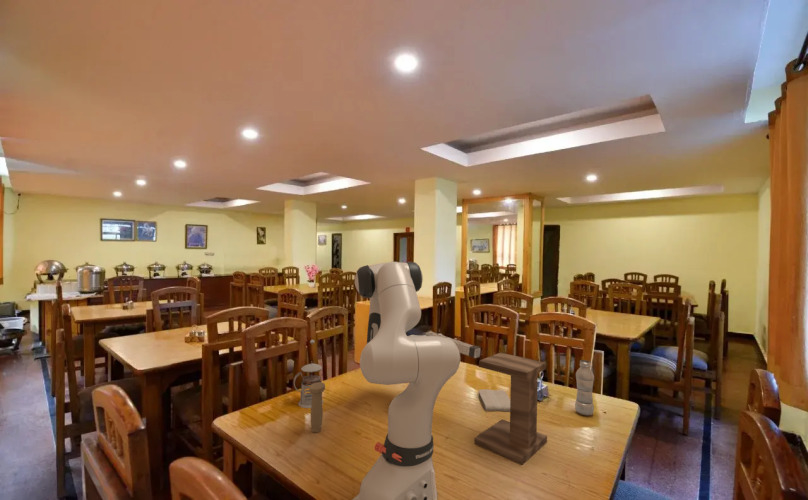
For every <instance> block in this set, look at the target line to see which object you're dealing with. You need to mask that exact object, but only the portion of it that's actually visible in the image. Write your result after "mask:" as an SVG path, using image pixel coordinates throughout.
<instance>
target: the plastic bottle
mask: <svg viewBox="0 0 808 500" xmlns="http://www.w3.org/2000/svg"><path fill="white" fill-rule="evenodd" d="M575 379H576V400H575V403H574V406H575V408H574V409H575V411H576V412H577V413H578V414H580V415H582V416H592V415H593V414H594V410H595V408H594V407H595V406H594V401H593V386H594V381H595V375H594V372H593V371H592V370H591V361H589V360H586V359H581V360H579V368H578V369H577V370H576V372H575Z"/></svg>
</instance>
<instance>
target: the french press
mask: <svg viewBox="0 0 808 500" xmlns="http://www.w3.org/2000/svg"><path fill="white" fill-rule="evenodd" d="M309 343H310V344H315V343H316V342H315V340H314V339H311V340H310V341H309ZM300 369H301V371H300V372H298V373H296V374H295V376H294V378H293V386H294V389H295V391H297V392H299V393H300V401H298V403H297V405H298V406H299V407H301V408H304V409H311V404H312V393H310V391H309V387H310V385H311V384H314V383H318V382H320V383H322V380H321V376H319V375H316V374H315V375H314V374H313V373H315V372H316V373H317V372H321V370H322V369H323V367H322V366H321V365H320V364H318V363H313V362H311V363H308V364H305V365H303V366H302V367H301V368H300ZM302 372H304V373H310V375H305V376H303V373H302ZM299 376H301V379H302V381H301V386H300V389H299V388H297V387H296V384H295V383H296V380H297V378H298V377H299ZM323 404H324V400H323V399H322V405H323Z"/></svg>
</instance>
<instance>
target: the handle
mask: <svg viewBox="0 0 808 500" xmlns="http://www.w3.org/2000/svg"><path fill="white" fill-rule="evenodd" d="M309 386H310V387H309V389H308V390H309V391H310V392H309V393H312V404H311V408H310V429H311V432H312V433H317V434H318V433H319V432H321V431H322V428H323V427H322V424H323V414H324V412H323V411H324V410H323V404H322V400H323V392H325V391H326V383H324V382H321V383H320V382H318V383H311V385H309Z"/></svg>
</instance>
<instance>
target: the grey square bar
mask: <svg viewBox="0 0 808 500" xmlns="http://www.w3.org/2000/svg"><path fill="white" fill-rule="evenodd" d="M440 334H441V333H437V332H434V331H427V332H425V335H426V336H438V337H444V338H450V339H451V340H452V341H453V342H454V343H455V344H456V346H457V347H458V350H459V353H460V354H462V355H466V356H468V357H470V358H474V359H477V358H480V356H481V355H480V354H481V347H480V346H478V345H473V344H470V343H467V342H463V341H460V340H458V339H454V338H451V337H450V336H449V337H448V336H445V335H443V334H442V335H440Z"/></svg>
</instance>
